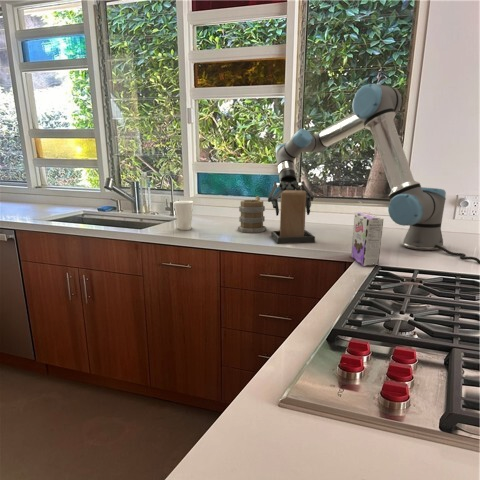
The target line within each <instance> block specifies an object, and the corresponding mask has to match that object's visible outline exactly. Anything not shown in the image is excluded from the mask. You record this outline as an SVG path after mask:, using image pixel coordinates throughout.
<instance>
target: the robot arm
mask: <svg viewBox="0 0 480 480" xmlns="http://www.w3.org/2000/svg"><path fill="white" fill-rule="evenodd" d="M402 100H403V99H402V95H401V92H400V91H399V90H398V89H397V88H396V87H394V86H391V85H381V84H377V83H368V84H364V85H363V86H361V87H360V88H358V90H357V91H356V93H355V94H354V98H353V99H352V105H351V107H352V112H353V113H351V114H349V115H347V116H346V117H344V118H341V119H340V120H338V121H336V122H335V123H333V124H331V125H329V126H327V127H325V128H324V129H322V130H320V131H318V132H316V133H311V132H310V131H309V130H308V129H305V128H300V129H298V130H297V131H296V132H295V133H294V134H293V135H292V137H290V139H289V140H288V141H287V142H283V143H281V144H278V145H277V146H276V148H275V160H276V165H277V172H278V180H279V182H277V181H273V186H272V189H271V191H270V193H269V195H268V197H267V202H268V203H271V204H272V209H275V215H276V216H279V214H280V210H279V209H280V208H279V201H278V199H279V198H281V193H282V192H283V191H285V190H304V191H306V211H305V212H306V215H307V216H309V215H310V213H311V207H312V202H313V201H314V199H315V195H314V194H313V193H312V191H311V190H310V189H309V188H308V186H307V185H306V184H305V181H303V180H302V181H301V182H298V180H297V175H296V169H295V162H294V161H295V160H296V158H298V157H299V155H301V154H302V153H321V152H326V151H327V150H328V148H329V147H330V146H332V145H334V144H336V143H338V142H340V141H342V140H345V139H347V138H348V137H350V136H352V135H355V134H357V133H358V132H360V131H363V130H364V129H365V130H368V131H370V133H371V136H372V140H373V142H374V145H375V147H376V151H377V154H378V156H379V159H380V163H381V165H382V168H383V170H384V174H385V176H386V180H387V182H388V185H389V188H390V192H389V194H388V198H389V205H388V207H387V210H388V216H389V217H390V219H391V220H392V222H394V223H395V224H397V225H399V226H404V227H405V226H409V228H408V229H407V231H406V234H405V236H404V238H403V241H402V246H403V247H404V248H406V249H411V250H415V251H416V250H417V251H443V252H445V253H446V254H447V255H448V254H449V255H450V256H454V257H455V256H456V257H457V256H458V257H459V258H460V260H467V261H468V260H472V261H475V262H476V263H477V264H478V265H480V259H479V258H477V257H476V256H467V255H466V254H465V253H463V252H453V251H450V250H448V249H447V248H445V247H444V238H443V234H442V224H443V223H442V222H443V216H444V212H445V211H444V210H445V204H446V200H447V197H446V196H447V191H446V190H445V189H442V188H436V187H435V188H434V187H422V185H421V183H420V182H419V181H416V180H415V179H414V176H413V174H412V170H411V167H410V165H409V162H408V159H407V156H406V153H405V150H404V148H403V145H402V141H401V139H400V136H399V132H398V130H397V128H396V127H397V126H396V124H395V121H394V119H395V117H396V115H397V114H398V113H399V111H400V110H401V107H402V103H403V101H402ZM278 188H280V189H279V190H278V191H277V192H276V190H277V189H278ZM275 193H276V194H275Z"/></svg>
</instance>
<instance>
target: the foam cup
mask: <svg viewBox="0 0 480 480" xmlns="http://www.w3.org/2000/svg"><path fill="white" fill-rule="evenodd" d="M173 207H174V211H175V212H174V213H175V217H176V223H177V224H176V225H177V228H178V230H179V231H180V230H181V231H189V230H191V229H192V223H193V222H192V221H193V213H194V212H193V210H194V201H193V200H176V201H173Z"/></svg>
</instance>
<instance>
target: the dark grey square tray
mask: <svg viewBox="0 0 480 480" xmlns="http://www.w3.org/2000/svg"><path fill="white" fill-rule="evenodd" d="M270 237H271V238H272V239H273V240H274V242H275V243H276V244H277V245H279V244H283V245H284V244H313V243H315V241H316V236H314V235H313V234H312V233H311V232H309V231H308V230H306V229H305V234H304V237H280V230H271V231H270Z"/></svg>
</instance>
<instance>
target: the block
mask: <svg viewBox="0 0 480 480" xmlns="http://www.w3.org/2000/svg"><path fill="white" fill-rule="evenodd" d="M306 212H307V211H306V191H304V190H302V189H301V190H285V191H283V192H282V193H281V196H280V212H279V214H280V216H279V218H280V220H279V231H280V237H304V234H305V230H306Z"/></svg>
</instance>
